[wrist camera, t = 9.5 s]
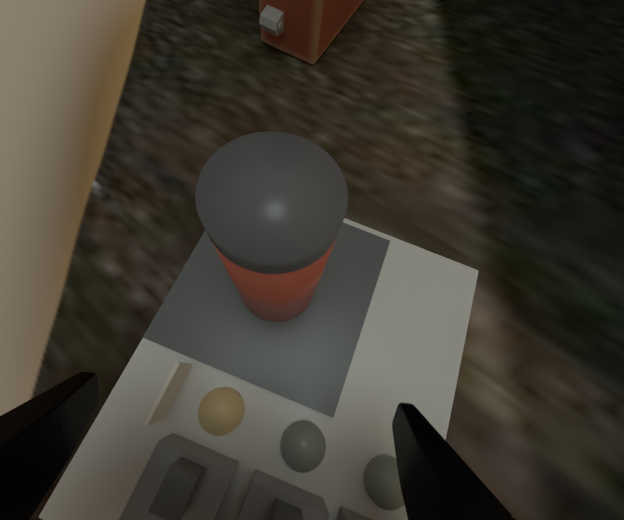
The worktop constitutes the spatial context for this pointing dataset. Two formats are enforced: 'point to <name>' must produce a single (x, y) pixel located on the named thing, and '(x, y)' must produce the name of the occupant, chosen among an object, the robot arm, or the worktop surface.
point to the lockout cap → (272, 218)
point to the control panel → (304, 25)
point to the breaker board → (276, 393)
